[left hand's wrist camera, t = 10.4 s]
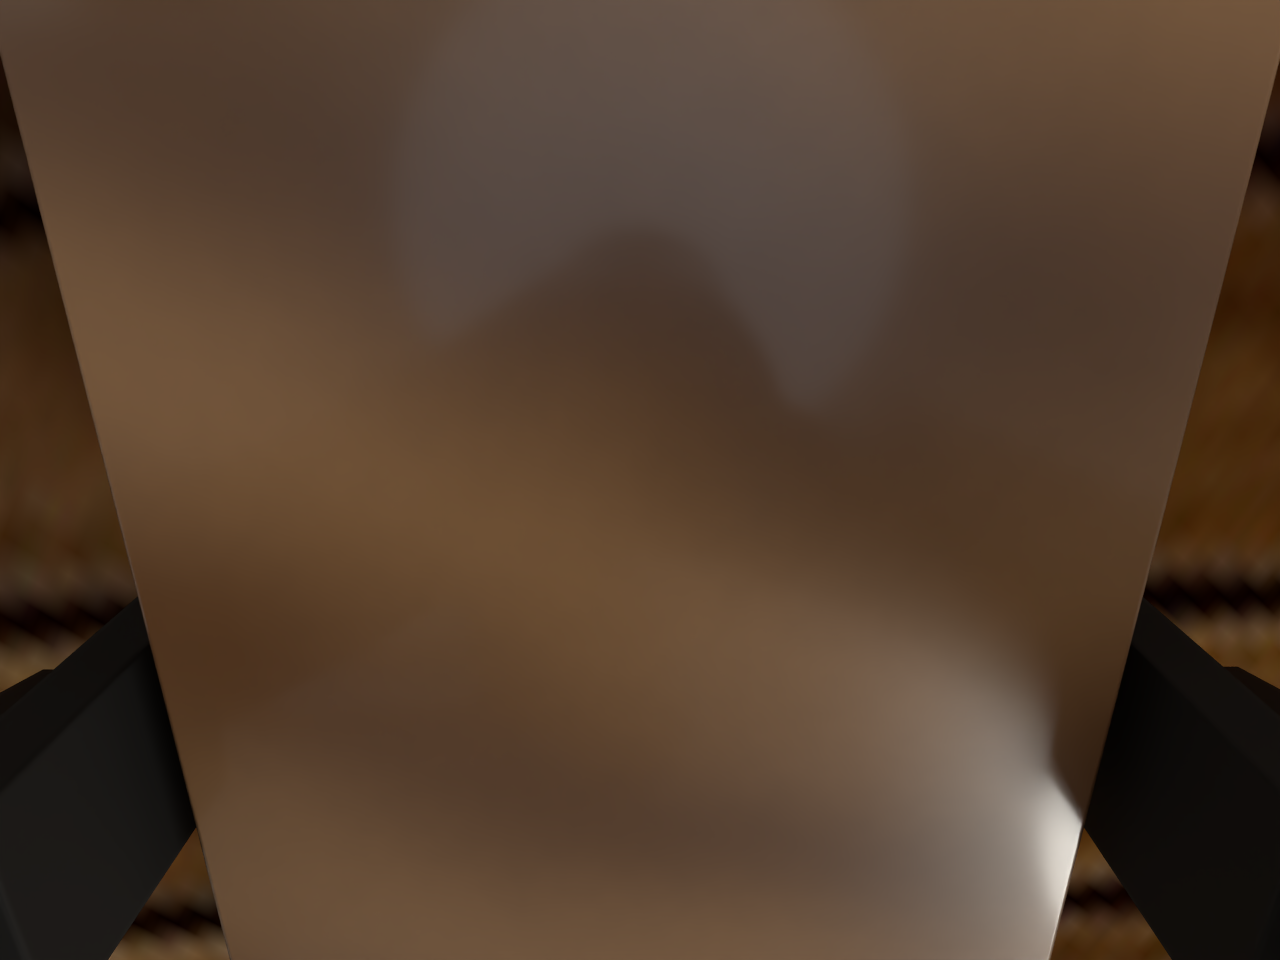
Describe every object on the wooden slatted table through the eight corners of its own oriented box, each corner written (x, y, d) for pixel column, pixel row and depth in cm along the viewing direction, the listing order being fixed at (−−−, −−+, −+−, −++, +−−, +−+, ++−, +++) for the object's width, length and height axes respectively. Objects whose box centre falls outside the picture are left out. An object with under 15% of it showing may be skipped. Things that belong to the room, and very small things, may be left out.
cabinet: (261, -578, 11) (-591, -2238, 3) (1020, -578, 11) (1874, -2238, 3) (405, 631, 18) (232, 981, 10) (873, 631, 18) (1046, 981, 10)
